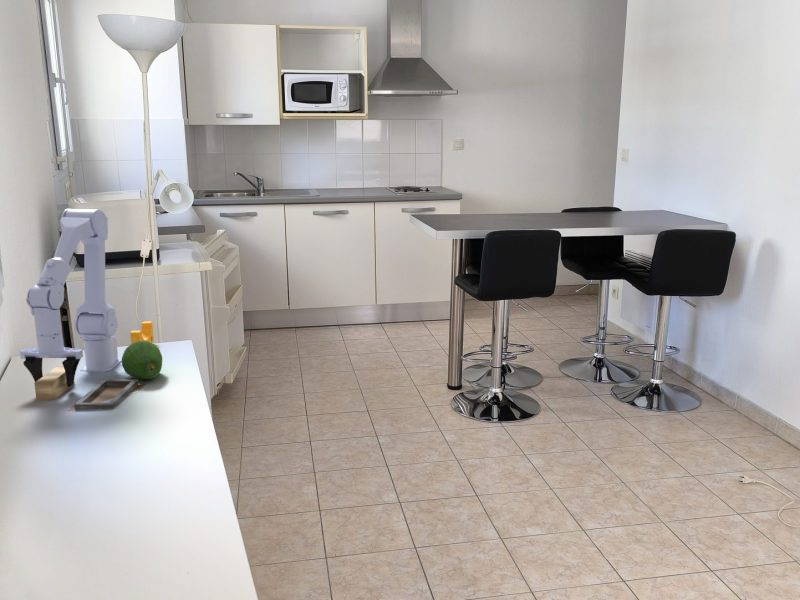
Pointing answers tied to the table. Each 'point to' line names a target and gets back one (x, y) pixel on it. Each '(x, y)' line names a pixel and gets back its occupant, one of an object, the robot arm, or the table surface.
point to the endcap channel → (107, 394)
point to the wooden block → (51, 384)
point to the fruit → (142, 360)
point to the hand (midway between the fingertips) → (55, 385)
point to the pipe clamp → (143, 333)
